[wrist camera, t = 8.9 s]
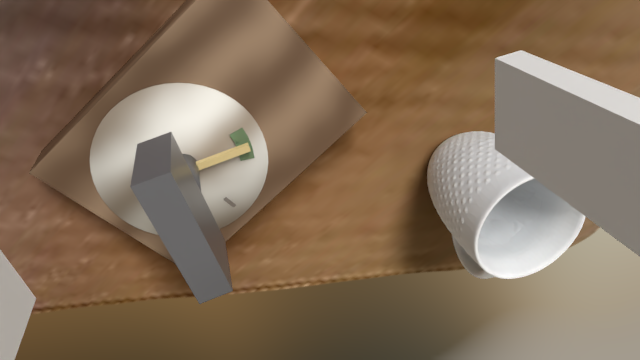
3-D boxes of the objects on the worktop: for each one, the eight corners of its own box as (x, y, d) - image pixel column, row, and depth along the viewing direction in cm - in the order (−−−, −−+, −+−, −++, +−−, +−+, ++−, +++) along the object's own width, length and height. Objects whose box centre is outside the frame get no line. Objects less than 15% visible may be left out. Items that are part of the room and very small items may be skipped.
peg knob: (194, 218, 41) (199, 304, 32) (141, 118, 36) (130, 187, 27) (267, 191, 42) (292, 266, 33) (226, 88, 37) (243, 145, 28)
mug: (482, 227, 57) (556, 302, 46) (398, 238, 54) (455, 320, 43) (511, 110, 50) (607, 166, 39) (416, 116, 47) (489, 177, 36)
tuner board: (41, 151, 39) (27, 175, 36) (227, -43, 36) (233, -39, 33) (189, 248, 48) (191, 275, 44) (352, 97, 44) (368, 114, 41)
